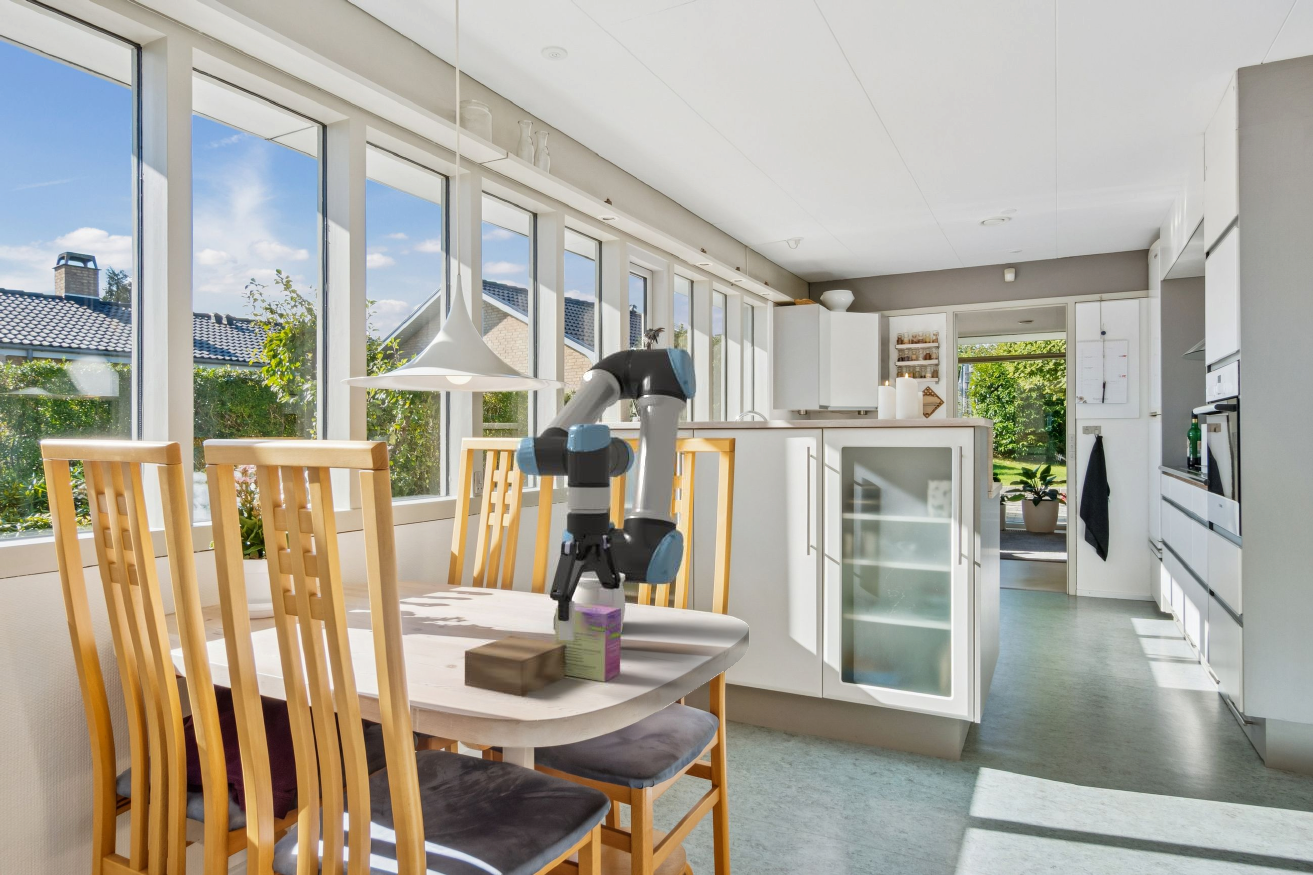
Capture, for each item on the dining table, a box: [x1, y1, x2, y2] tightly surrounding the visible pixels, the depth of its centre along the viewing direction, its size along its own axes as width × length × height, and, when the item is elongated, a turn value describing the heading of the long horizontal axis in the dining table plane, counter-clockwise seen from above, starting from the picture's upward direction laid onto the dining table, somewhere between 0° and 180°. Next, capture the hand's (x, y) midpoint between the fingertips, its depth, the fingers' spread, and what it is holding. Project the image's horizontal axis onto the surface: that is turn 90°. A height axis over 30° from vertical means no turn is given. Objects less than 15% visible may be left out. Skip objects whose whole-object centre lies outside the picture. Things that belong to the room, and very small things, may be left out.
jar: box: [572, 571, 626, 633], centre depth 153 cm, size 11×10×15 cm
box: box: [554, 603, 622, 683], centre depth 137 cm, size 10×6×12 cm, turn 64°
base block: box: [464, 635, 566, 697], centre depth 133 cm, size 12×12×6 cm
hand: (587, 631), depth 137 cm, fingers open, 13 cm apart
